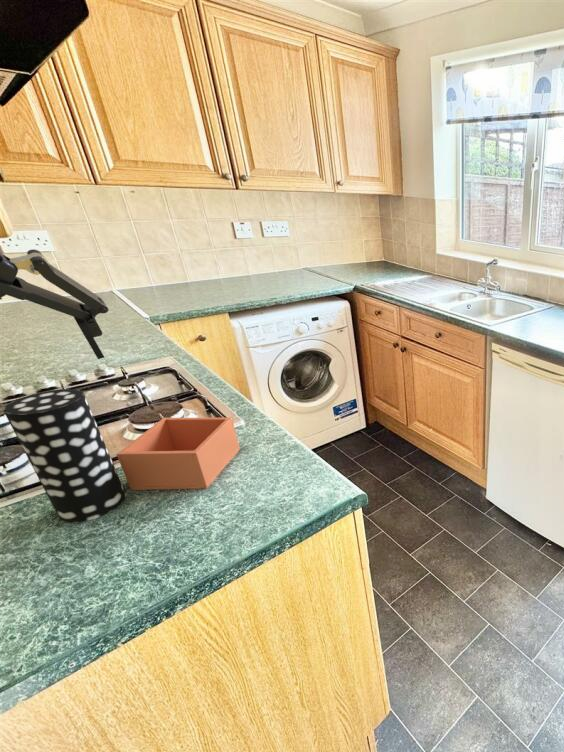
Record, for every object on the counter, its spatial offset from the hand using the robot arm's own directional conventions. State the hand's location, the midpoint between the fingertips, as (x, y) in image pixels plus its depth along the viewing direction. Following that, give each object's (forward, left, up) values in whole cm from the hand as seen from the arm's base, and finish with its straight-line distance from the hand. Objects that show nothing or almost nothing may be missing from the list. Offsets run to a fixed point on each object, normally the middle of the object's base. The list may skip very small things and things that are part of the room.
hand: (34, 369), depth 58 cm
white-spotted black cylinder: (-4, +2, -26) cm, 27 cm away
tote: (+3, +14, -26) cm, 30 cm away
